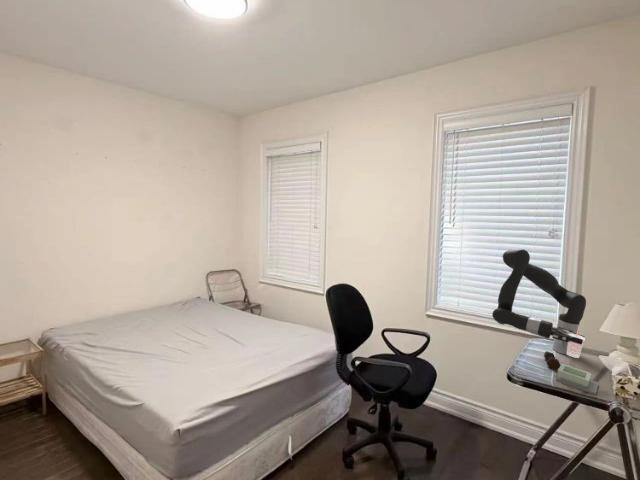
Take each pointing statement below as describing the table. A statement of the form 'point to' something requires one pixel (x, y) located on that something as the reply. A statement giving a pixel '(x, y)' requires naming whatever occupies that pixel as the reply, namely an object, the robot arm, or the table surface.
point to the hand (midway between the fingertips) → (583, 340)
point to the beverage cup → (575, 346)
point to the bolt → (551, 361)
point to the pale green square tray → (576, 378)
